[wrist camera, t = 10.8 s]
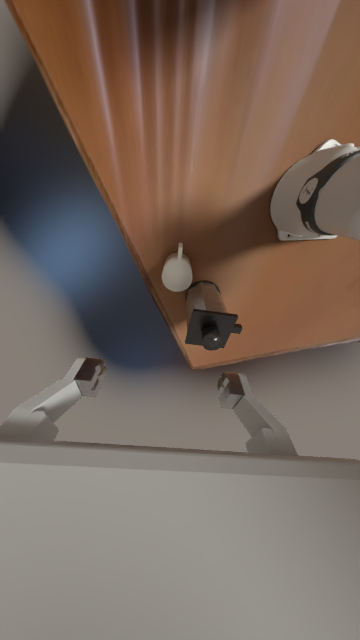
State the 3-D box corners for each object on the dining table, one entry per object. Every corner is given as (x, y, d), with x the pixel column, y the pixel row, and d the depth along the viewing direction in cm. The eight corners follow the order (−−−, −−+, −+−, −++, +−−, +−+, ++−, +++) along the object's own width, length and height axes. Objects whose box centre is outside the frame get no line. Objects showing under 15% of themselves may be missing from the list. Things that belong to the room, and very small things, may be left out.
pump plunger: (211, 293, 53) (224, 338, 36) (207, 305, 55) (218, 351, 39) (198, 291, 52) (205, 335, 36) (195, 303, 55) (201, 349, 38)
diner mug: (195, 242, 45) (197, 251, 38) (188, 280, 52) (189, 293, 45) (166, 238, 44) (163, 246, 37) (163, 276, 51) (160, 289, 44)
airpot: (183, 308, 58) (183, 344, 44) (189, 278, 51) (192, 309, 37) (222, 313, 59) (235, 350, 45) (233, 284, 52) (252, 317, 38)
